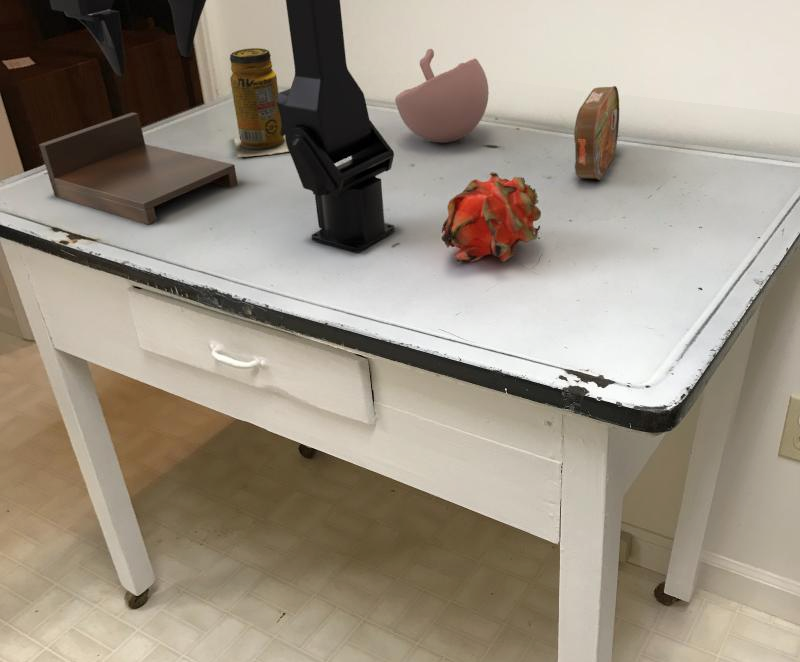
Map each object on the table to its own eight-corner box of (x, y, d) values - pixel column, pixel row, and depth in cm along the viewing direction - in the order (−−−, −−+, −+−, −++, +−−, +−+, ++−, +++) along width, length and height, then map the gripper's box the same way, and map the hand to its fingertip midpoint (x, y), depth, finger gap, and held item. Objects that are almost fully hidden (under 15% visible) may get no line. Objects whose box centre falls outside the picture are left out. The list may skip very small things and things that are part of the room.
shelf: (238, 184, 105) (228, 131, 101) (148, 224, 96) (135, 168, 92) (143, 161, 114) (132, 112, 111) (54, 196, 106) (38, 144, 102)
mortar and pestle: (431, 121, 121) (428, 35, 114) (505, 133, 115) (506, 43, 108) (380, 147, 113) (374, 56, 107) (457, 161, 107) (454, 66, 101)
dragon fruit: (542, 250, 88) (457, 305, 83) (490, 189, 89) (404, 239, 85) (577, 203, 80) (485, 260, 76) (519, 137, 82) (426, 189, 77)
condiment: (285, 133, 121) (273, 43, 114) (292, 152, 114) (280, 57, 107) (234, 140, 119) (218, 49, 113) (237, 159, 113) (221, 64, 106)
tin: (595, 190, 96) (600, 115, 92) (567, 188, 97) (571, 113, 93) (619, 147, 108) (625, 77, 103) (594, 145, 109) (598, 76, 104)
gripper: (146, -105, 98) (172, 39, 107) (-3, -85, 86) (41, 75, 95) (211, -102, 92) (233, 50, 101) (62, -79, 80) (102, 90, 90)
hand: (154, 65), depth 97 cm, fingers open, 9 cm apart
